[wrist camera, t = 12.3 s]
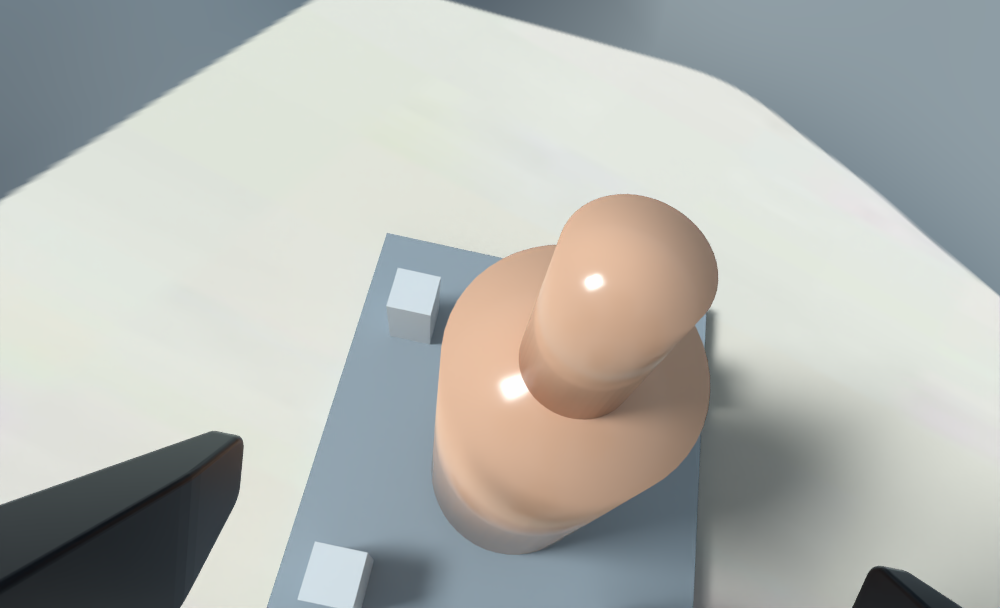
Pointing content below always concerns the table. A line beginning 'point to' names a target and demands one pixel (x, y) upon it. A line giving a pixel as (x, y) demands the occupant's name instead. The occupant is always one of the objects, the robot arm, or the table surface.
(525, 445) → the tan bottle
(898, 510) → the table surface
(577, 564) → the plate
